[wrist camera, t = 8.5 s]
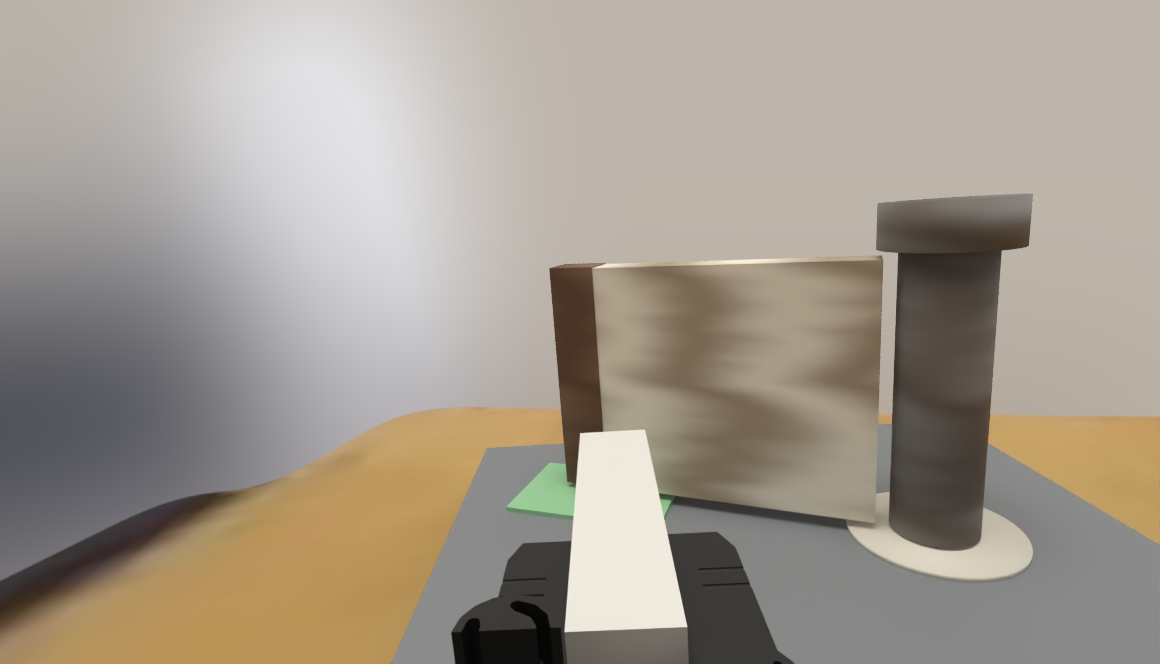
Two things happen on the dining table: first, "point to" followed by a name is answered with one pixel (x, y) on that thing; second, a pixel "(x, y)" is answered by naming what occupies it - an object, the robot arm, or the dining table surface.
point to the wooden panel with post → (802, 369)
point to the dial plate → (850, 570)
